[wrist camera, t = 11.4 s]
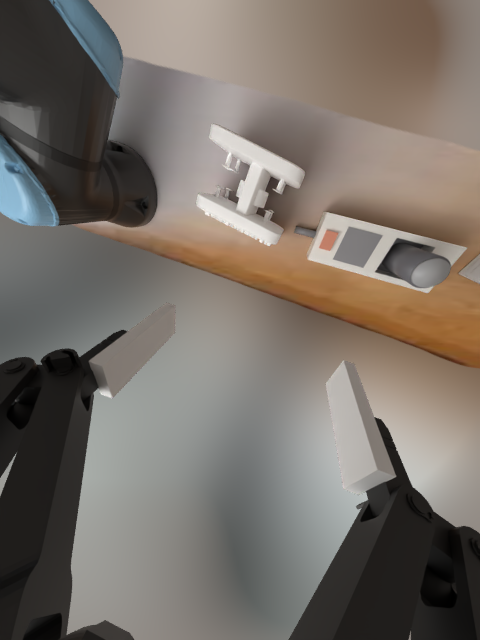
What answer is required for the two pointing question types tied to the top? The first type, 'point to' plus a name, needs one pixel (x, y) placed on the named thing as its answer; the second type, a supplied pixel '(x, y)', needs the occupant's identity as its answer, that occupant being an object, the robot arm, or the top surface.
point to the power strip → (367, 247)
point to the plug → (416, 265)
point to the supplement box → (472, 270)
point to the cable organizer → (249, 186)
